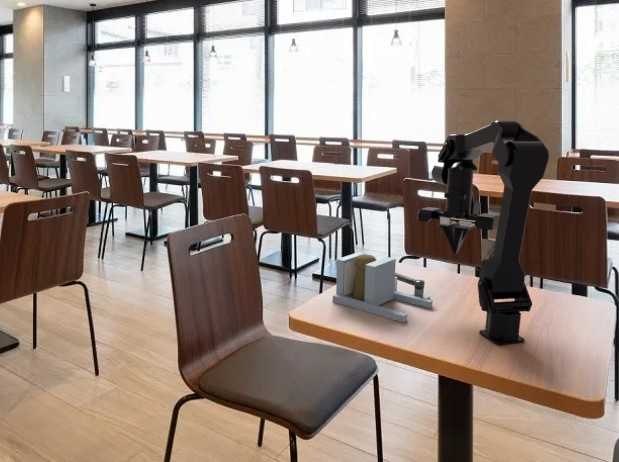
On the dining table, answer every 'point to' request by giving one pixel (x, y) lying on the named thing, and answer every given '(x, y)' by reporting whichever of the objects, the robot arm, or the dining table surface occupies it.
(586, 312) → the dining table surface
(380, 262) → the block
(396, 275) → the lock handle
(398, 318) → the vise bed
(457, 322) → the dining table surface
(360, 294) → the cork
